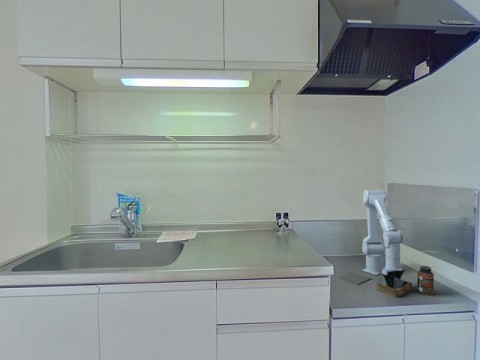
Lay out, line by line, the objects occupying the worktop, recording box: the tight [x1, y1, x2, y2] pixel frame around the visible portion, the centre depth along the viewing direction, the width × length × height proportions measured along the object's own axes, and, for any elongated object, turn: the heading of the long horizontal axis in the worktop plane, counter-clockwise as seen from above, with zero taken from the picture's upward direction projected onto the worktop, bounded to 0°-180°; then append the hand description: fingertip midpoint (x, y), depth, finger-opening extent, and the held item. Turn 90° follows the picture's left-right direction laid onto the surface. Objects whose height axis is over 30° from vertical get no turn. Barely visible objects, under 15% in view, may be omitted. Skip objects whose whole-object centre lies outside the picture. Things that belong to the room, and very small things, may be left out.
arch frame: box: [376, 280, 413, 298], centre depth 121 cm, size 13×9×3 cm
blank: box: [382, 276, 404, 289], centre depth 122 cm, size 4×7×5 cm, turn 33°
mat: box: [339, 271, 372, 286], centre depth 135 cm, size 11×10×1 cm
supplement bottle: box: [416, 265, 435, 296], centre depth 118 cm, size 6×6×11 cm
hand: (393, 286), depth 122 cm, fingers open, 5 cm apart
